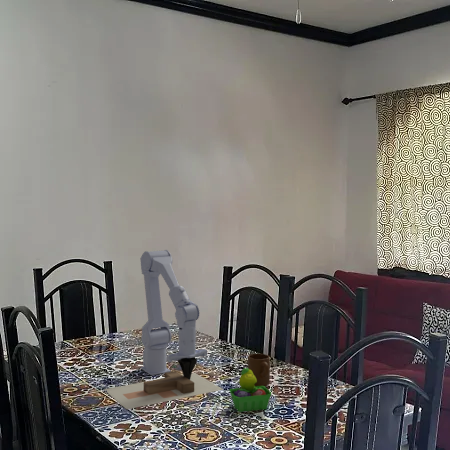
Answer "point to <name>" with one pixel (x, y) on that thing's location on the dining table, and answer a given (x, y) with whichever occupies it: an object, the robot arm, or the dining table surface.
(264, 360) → the mug
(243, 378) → the fruit basket
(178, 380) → the t block
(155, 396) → the mat
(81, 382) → the dining table surface
